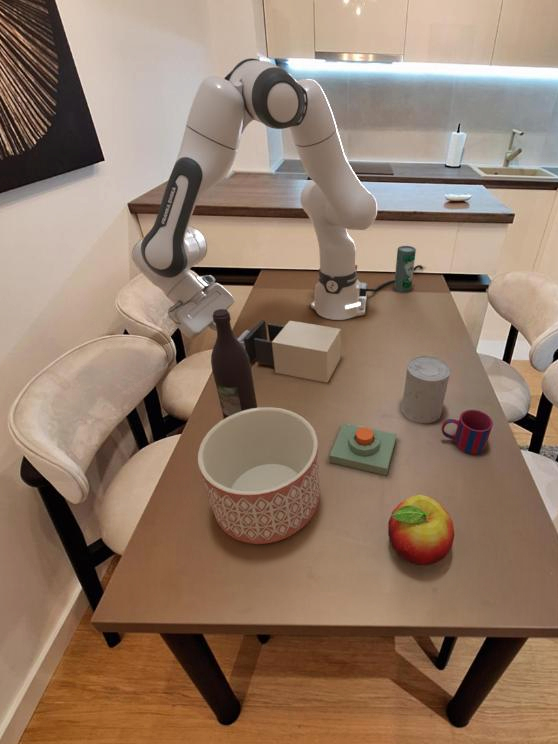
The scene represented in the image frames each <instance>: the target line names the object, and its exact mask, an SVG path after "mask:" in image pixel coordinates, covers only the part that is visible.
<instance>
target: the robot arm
mask: <svg viewBox="0 0 558 744" xmlns="http://www.w3.org/2000/svg"><path fill="white" fill-rule="evenodd" d="M253 121H256V122H259V123H261V124H263V125H265V126H266V127H268V128H270V129H274V130H284V129H289V130H290V135H291V137H292V140H293V142H294V145H295V147H296V150H297V153H298V156H299V159H300V161H301V164H302V167H303V170H304V172H305V173H306V175H307V176H308V178H310V179H311V180H309V181H307V182H306V183H305V184H304V185H303V187H302V189H301V192H300V205H301V208H302V209H303V211H304V212H305V214H306V215H307V216H308V218H309V220H310V222H311V225H312V227H313V229H314V232H315V236H316V239H317V243H318V244H317V245H318V252H319V253H318V254H319V269H318V273H317V276H318V282H317V283H316V284H315V285H314V301H312V302H311V303H310V308H311V309H313V310H314V311H315V312H316V313H317V315H318V316H320V317H322V318H324V319H327V320H332V321H343V320H344V321H345V320H350V319H351V318H355V317H360V316H365V314H366V307H367V299H368V298H367V297H368V296H367V292H378V290H380V289H382V288H385V286H388V285H390V284H394V282H395V279H393V280H388V281H386V282H383V283H382V284H380V285H378V286H377V287H375V288H370V287H369V288H368V282H361V281H360V280H359V279H358V273H357V271H358V264H356V257H357V256H356V255H357V254H356V253H357V252H356V251H357V247H356V244H355V241H354V240H353V238H352V237H351V236H350V235H349V233H348V230H349V231H351V230H352V231H365V230H367V229H369V228H370V227H372V225H373V223H374V222H375V220H376V218H377V215H378V201H377V200H376V197H375V195H373V194H372V192H370V191H369V190H368V189H367V188H366V187H365V186H364V184H362V182H361V181H360V179H359V178H358V177H357V175H356V173H355V171H354V170H353V168H352V166H351V165H350V162H349V161H348V158H347V156H346V154H345V151H344V147H343V144H342V141H341V138H340V133H339V130H338V127H337V124H336V123H337V122H336V119H335V117H334V114H333V111H332V108H331V106H330V103H329V100H328V98H327V96H326V94H325V92H324V90H323V88H322V86H321V85H320V84H319V82H317V81H316V80H314V79H312V78H311V79H310V78H301V79H299V80H297V79H296V78H295V77H294V76H293V75H292V74H291V73H290V72H288V71H287V70H285V69H283V68H281V67H279V66H278V65H276V64H274V63H272V62H270V61H266V60H260V59H257V58H246V59H243V60H241V61H240V62H238V63H237V64H236V65H235V66H234V68H233V69H232V70H231V71H230V72H229V73H227V75H225V77H221V76H208V77H205V78H204V79H203V80H202V81H201V83H200V84H199V86H198V89H197V90H196V93H195V96H194V98H193V101H192V103H191V106H190V109H189V113H188V116H187V120H186V124H185V128H184V133H183V135H182V140H181V144H180V148H179V152H178V153H177V156H176V157H177V158H176V159H175V163H174V165H173V168H172V170H171V172H170V174H169V178H168V181H167V184H166V187H165V190H164V193H163V196H162V199H161V202H160V206H159V208H158V212H157V215H156V218H155V221H154V223H153V226H152V228H151V229H150V230H149V231H148V232H147V233H146V234H145V236H143V238H142V237H141V239H139V240H138V242H137V243H136V244H135V245H134V246H133V249H132V251H131V256H130V257H131V261H132V262H133V264H134V266H135V267H136V268H137V269H138V271H139V272H140V273H141V274H142V275H143V276H144V277H145V278H146V279H147V280H148V281H149V282H150V283H151V284H152V285H154V286H155V287H157V288H158V289H160V290H161V291H162V293H163V294H164V296H165V297H166V298H167V299H168V300H170V301H171V302H172V303H173V305H172V306H170V307H169V308H168V309H167V316H168V318H169V319H170V320H171V321H172V322H173V323H174V325H175V326H176V328H177V329H179V331H180V332H181V333H182V334H183V335H184V336H185V337H186V338H187V339H190V340H194V339H195V338H196V337H198V336H199V335H200V334H201V333H203V331H204V330H206V329H207V328H210V330H212V331H216V332H217V329H216V324H215V323H214V320H213V312H214V311H216V310H219V309H225V310H227V311H228V310H229V308H231V306H232V305H234V303H235V297H234V296H233V295H232V294H231V293H230V292H229V291H228V290H227V289H226V288H225V287H224V286H223V285H222V284H220V283H218V282H216V278H215V277H214V276H213V275H211V274H209V275H208V274H206V275H199V276H194V274H192V272H191V268H192V267H195V266H196V265H198V264H199V263H201V262H202V261H203V260H204V259H205V257H206V256H207V253H208V243H207V241H206V238H205V237H204V235H203V234H202V232H201V231H199V229H197V228H196V227H195V226H191V225H190V223H191V220H192V217H193V213H194V212H195V209H196V206H197V203H198V202H199V201H200V199H201V198H202V196H203V195H204V194H205V193H206V192H208V191H209V190H210V189H211V188H213V187H214V186H215V185H217V184H219V183H221V182H222V181H223V180H225V179H226V178H227V176H228V174H229V172H230V171H231V168H232V167H233V165H234V161H235V159H236V156H237V153H238V150H239V145H240V142H241V139H242V134H243V132H244V131H245V129H246V128H247V127H248V126H249V124H250V123H251V122H253ZM423 268H424V267H423V265H422V264H417V265H416V266H414V269H413V272H414V271H416V270H417V269H421V270H422V269H423ZM231 329H233V327H232V326H231Z"/></svg>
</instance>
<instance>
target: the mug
mask: <svg viewBox="0 0 558 744" xmlns="http://www.w3.org/2000/svg"><path fill="white" fill-rule="evenodd" d="M448 424H454V425H456V426H457V427H456V430H455V434H449V433H448V432H447V431H445V428H446V426H447V425H448ZM493 425H494V422H493V419H492V418H491V417H490V415H488V414H487V413H485V412H483V411H481V410H477V409H467V410H464V411H463V412H461V413H460V415H459V419H454V418H448V419H446V420H444V421H443V423H442V425H441V433H442V435H443V436H445V437H446V438H447V439H450V440H452V441H453V442H454V444H455V446H456V448H457V449H459V451H461V452H463V453H465V454H469V455H478V454H481V453H482V452H484V451H485V448H486V446H487V444H488V440H489V437H490V435H491V432H492V429H493Z"/></svg>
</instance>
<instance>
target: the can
mask: <svg viewBox="0 0 558 744" xmlns="http://www.w3.org/2000/svg"><path fill="white" fill-rule="evenodd" d="M396 251H397V252H396V263H395V273H394V280H395V282H394V283H393V289H394V291H396V292H398V293H409V292H411V290H412V285H413V278H414V277H413V276H414V271H413V269H414V267H415V261H416V253H417V248H415V247H414V246H411V245H400V246H399V247H398V248H397V250H396Z"/></svg>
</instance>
